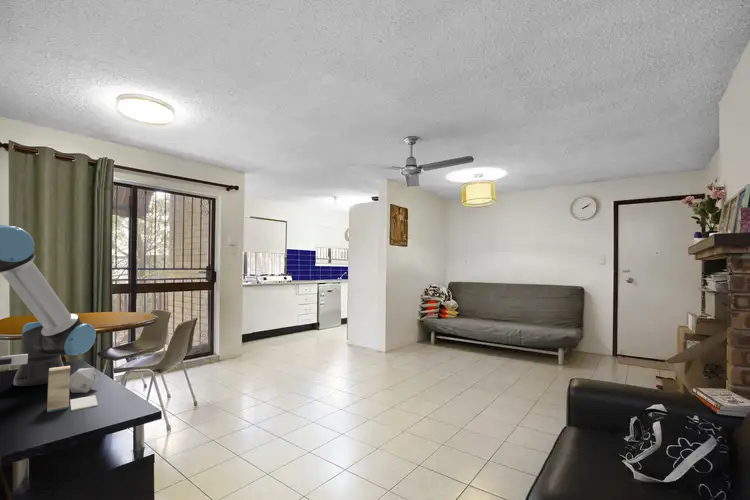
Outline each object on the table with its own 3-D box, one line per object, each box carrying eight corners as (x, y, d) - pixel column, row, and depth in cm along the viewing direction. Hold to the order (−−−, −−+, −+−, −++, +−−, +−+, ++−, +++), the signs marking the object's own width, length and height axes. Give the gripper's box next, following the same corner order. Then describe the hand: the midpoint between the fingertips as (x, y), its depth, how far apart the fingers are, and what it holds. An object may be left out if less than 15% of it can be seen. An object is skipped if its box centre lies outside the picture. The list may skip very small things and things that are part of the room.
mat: (70, 400, 121) (70, 399, 121) (95, 396, 125) (95, 395, 125) (70, 410, 112) (71, 409, 112) (97, 405, 116) (97, 404, 116)
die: (72, 399, 125) (94, 373, 128) (54, 385, 127) (77, 360, 130) (88, 400, 132) (109, 375, 136) (72, 387, 134) (93, 363, 138)
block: (47, 407, 115) (49, 368, 116) (68, 404, 118) (70, 365, 119) (46, 412, 111) (48, 371, 112) (68, 408, 114) (70, 368, 115)
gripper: (-92, 381, 100) (28, 367, 115) (-109, 392, 90) (24, 375, 106) (-89, 353, 101) (29, 343, 116) (-106, 361, 91) (26, 349, 106)
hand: (27, 358), depth 111 cm, fingers closed
